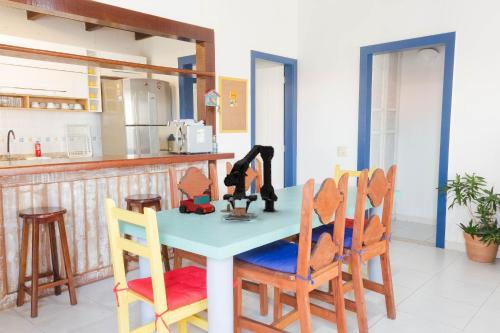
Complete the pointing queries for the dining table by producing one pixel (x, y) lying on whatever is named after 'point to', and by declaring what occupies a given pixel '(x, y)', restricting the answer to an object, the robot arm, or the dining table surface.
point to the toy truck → (197, 204)
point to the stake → (227, 209)
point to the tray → (238, 218)
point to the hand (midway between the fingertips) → (240, 212)
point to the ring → (239, 211)
